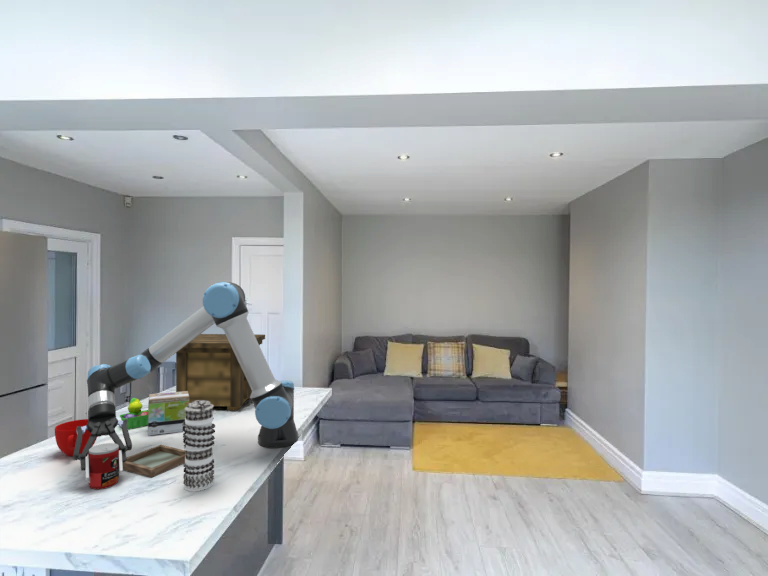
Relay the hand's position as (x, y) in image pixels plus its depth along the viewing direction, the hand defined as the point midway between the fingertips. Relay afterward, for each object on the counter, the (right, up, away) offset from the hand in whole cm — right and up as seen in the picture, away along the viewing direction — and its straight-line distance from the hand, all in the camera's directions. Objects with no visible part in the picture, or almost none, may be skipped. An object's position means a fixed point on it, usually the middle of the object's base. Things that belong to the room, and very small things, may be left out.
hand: (104, 475), depth 130 cm
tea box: (-6, -3, +51) cm, 52 cm away
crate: (0, -3, +92) cm, 92 cm away
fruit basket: (-22, -3, +56) cm, 61 cm away
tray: (+6, -3, +18) cm, 19 cm away
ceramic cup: (-26, -3, +25) cm, 36 cm away
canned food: (-2, -4, +3) cm, 5 cm away
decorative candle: (+27, -4, +3) cm, 27 cm away
